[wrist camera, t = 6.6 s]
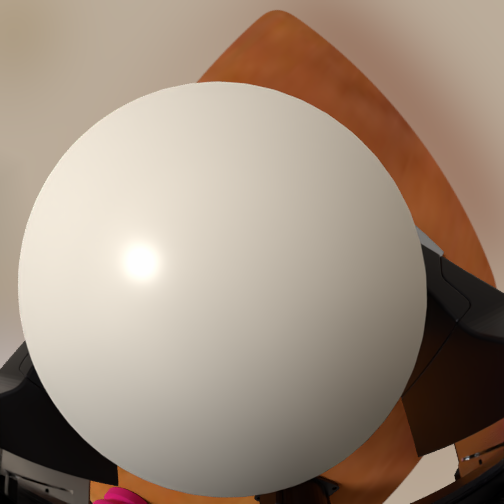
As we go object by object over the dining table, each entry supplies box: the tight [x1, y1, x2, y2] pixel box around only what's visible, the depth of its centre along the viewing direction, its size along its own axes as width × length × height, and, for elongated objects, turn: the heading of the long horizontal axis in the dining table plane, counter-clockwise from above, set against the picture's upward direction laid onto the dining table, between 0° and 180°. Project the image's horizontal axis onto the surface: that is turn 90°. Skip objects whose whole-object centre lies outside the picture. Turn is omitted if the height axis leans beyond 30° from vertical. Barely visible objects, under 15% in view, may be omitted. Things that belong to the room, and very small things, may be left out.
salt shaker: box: [18, 82, 427, 497], centre depth 9 cm, size 7×7×11 cm
